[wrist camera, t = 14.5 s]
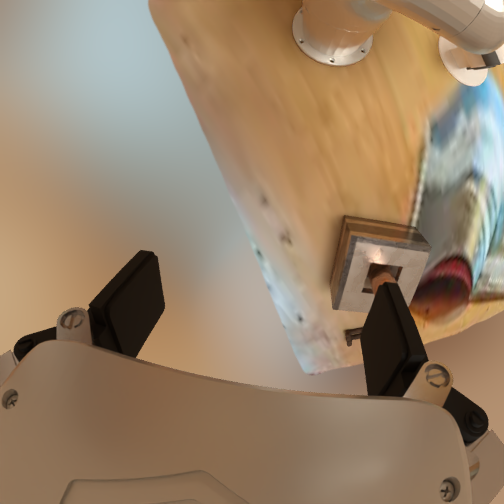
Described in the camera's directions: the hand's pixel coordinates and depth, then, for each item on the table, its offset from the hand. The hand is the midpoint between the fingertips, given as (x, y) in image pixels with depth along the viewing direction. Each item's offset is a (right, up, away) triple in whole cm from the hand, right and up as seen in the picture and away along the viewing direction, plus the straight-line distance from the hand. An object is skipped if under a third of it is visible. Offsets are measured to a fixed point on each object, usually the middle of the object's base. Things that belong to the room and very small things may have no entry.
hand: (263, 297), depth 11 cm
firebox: (+22, +1, +37) cm, 43 cm away
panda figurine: (+36, +35, +16) cm, 53 cm away
